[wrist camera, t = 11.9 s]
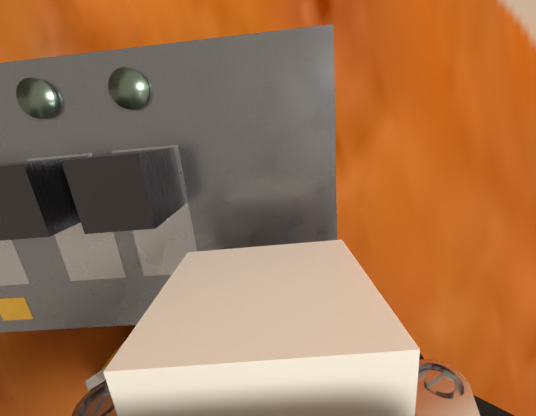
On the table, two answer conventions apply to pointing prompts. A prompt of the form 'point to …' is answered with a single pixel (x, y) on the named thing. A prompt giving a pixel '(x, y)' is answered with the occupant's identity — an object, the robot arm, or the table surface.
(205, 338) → the chalk-white cube
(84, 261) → the panel
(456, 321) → the table surface
